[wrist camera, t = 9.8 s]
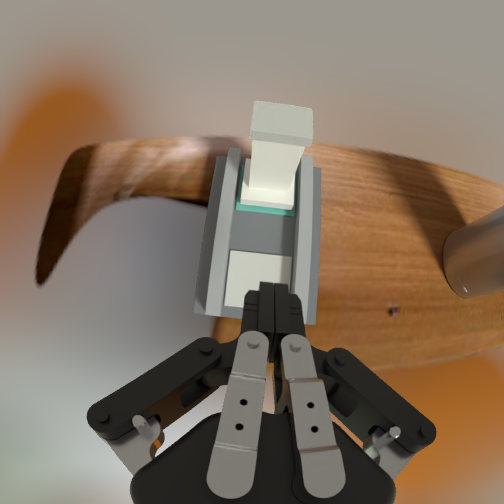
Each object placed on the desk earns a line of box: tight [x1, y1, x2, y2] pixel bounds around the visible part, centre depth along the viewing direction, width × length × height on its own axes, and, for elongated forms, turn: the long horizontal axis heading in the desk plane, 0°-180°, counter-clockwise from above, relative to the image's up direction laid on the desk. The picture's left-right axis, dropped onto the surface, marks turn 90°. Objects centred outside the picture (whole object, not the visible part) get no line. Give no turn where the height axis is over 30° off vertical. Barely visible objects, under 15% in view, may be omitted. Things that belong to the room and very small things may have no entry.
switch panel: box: [193, 147, 321, 325], centre depth 26 cm, size 16×11×4 cm
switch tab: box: [241, 101, 313, 210], centre depth 22 cm, size 4×5×10 cm
